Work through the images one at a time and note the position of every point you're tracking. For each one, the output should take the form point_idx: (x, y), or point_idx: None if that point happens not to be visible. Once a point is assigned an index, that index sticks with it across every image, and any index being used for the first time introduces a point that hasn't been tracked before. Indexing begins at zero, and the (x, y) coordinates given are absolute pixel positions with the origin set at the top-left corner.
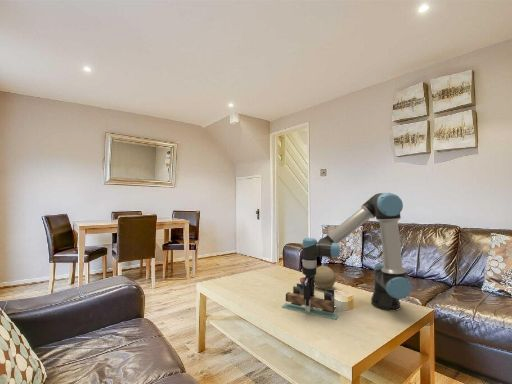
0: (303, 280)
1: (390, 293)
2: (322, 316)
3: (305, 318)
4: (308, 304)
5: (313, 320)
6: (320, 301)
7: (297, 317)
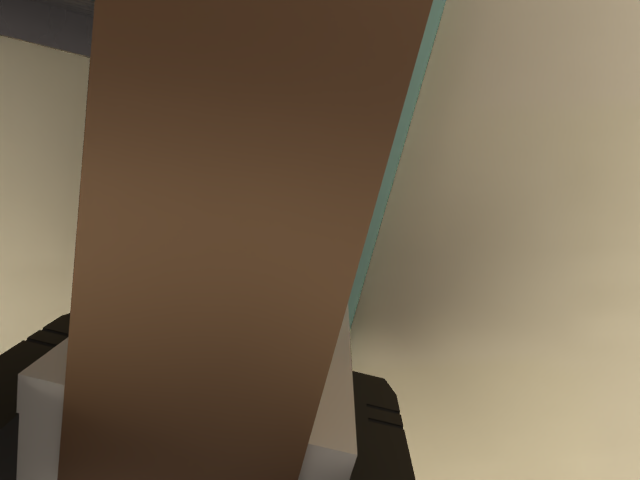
0: None
1: None
2: (428, 59)
3: (540, 335)
4: (382, 402)
5: (598, 213)
6: (414, 48)
7: (523, 439)
